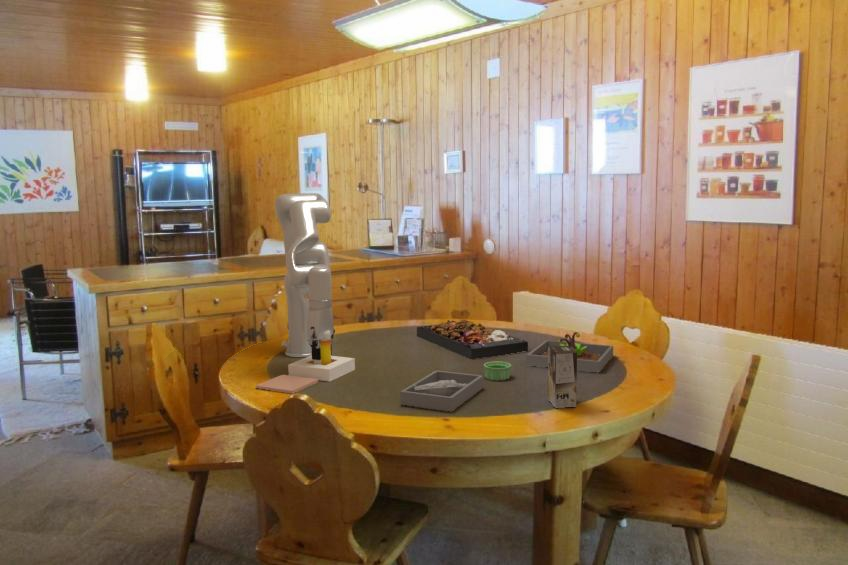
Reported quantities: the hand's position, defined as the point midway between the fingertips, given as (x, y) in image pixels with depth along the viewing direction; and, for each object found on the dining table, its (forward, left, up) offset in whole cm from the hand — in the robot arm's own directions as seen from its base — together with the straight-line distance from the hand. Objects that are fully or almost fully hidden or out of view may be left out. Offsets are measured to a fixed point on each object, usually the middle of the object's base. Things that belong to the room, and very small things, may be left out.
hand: (321, 356), depth 238 cm
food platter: (+30, +60, -6) cm, 67 cm away
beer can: (0, 0, -6) cm, 6 cm away
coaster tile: (-2, -17, -6) cm, 18 cm away
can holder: (0, 0, -6) cm, 6 cm away
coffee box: (+82, -1, -6) cm, 82 cm away
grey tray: (+48, -8, -6) cm, 49 cm away
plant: (+73, +48, -6) cm, 88 cm away
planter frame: (+73, +48, -6) cm, 87 cm away
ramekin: (+56, +18, -6) cm, 59 cm away
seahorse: (+48, -8, -6) cm, 49 cm away
